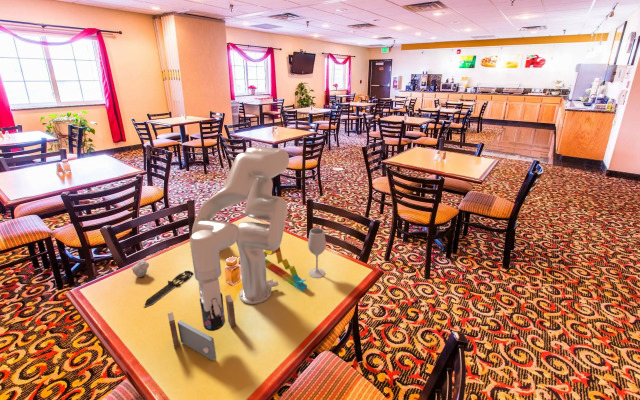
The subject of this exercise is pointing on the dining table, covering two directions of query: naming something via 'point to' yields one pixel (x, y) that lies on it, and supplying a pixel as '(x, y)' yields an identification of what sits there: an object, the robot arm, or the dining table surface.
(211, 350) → the door
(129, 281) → the dining table surface
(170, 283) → the knife
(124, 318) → the dining table surface
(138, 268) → the white rounded lump
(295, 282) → the chart
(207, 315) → the supplement container
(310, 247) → the wineglass
